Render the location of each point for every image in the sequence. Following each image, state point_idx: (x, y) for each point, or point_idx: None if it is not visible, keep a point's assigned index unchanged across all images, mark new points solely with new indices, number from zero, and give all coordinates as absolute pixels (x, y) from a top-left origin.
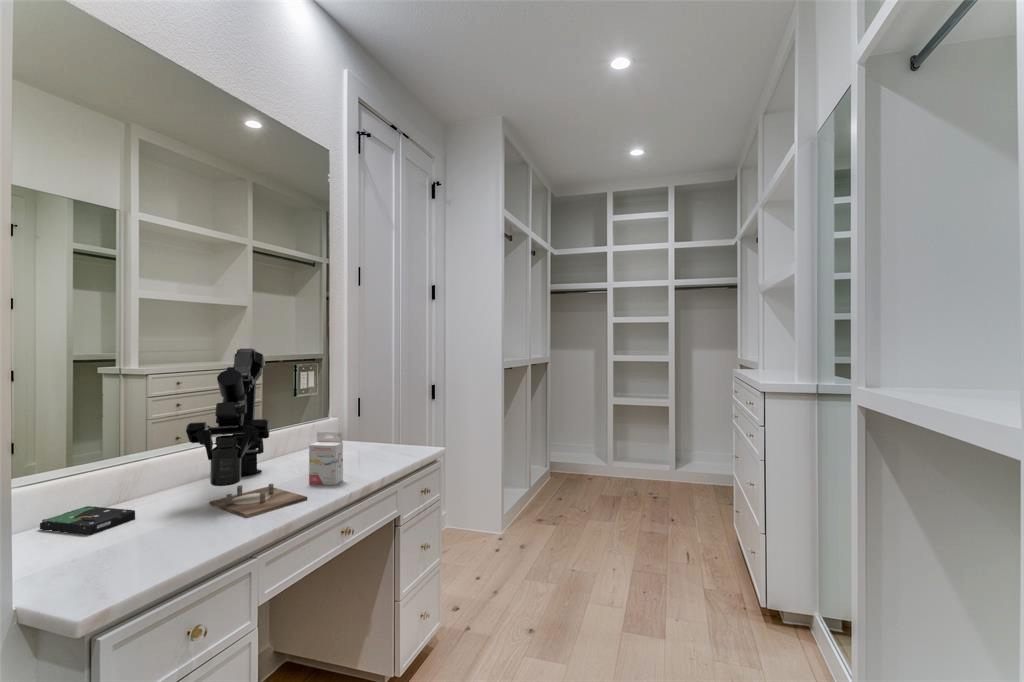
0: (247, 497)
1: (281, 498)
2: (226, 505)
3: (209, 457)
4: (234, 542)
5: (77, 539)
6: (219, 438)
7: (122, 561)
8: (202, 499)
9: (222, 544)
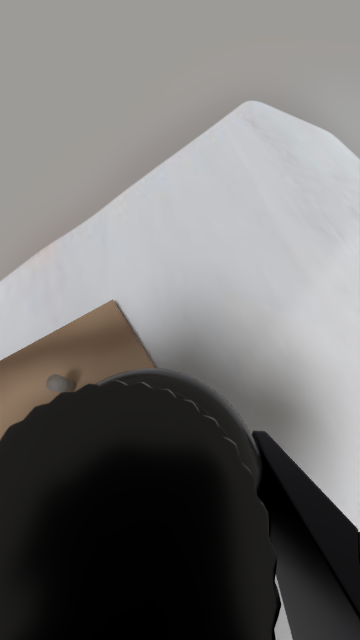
0: None
1: (12, 406)
2: None
3: (255, 431)
4: (134, 197)
5: None
6: (194, 404)
7: (277, 188)
8: None
9: (151, 196)
